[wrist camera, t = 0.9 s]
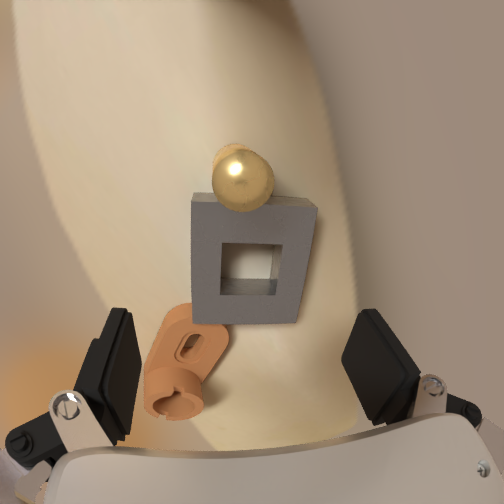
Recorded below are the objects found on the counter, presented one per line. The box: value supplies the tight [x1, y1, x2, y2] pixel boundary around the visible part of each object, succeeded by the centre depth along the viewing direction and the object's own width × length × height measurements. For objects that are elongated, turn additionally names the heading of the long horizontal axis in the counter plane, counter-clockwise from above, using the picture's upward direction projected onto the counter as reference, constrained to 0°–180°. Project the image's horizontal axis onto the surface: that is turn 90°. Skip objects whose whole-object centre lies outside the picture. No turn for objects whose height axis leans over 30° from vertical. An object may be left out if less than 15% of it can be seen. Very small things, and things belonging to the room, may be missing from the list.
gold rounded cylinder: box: [212, 144, 274, 212], centre depth 24 cm, size 4×4×9 cm
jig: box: [191, 193, 318, 324], centre depth 31 cm, size 14×12×4 cm
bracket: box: [144, 303, 229, 421], centre depth 35 cm, size 18×8×7 cm, turn 151°
